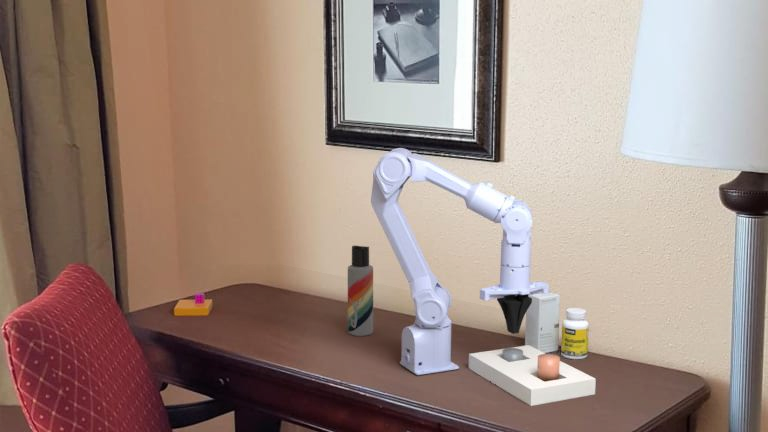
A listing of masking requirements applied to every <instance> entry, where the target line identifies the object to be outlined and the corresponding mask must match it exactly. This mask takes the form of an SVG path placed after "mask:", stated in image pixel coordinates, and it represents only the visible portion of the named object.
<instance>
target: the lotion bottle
mask: <svg viewBox="0 0 768 432" xmlns="http://www.w3.org/2000/svg"><path fill="white" fill-rule="evenodd" d="M373 332H374V267H373V265H371V264H370V246H364V245H363V246H362V245H352V246H351V264H350V265H348V266H347V333H348V334H349V335H352V336H355V337H357V336H358V337H364V336H369V335H372V334H373Z"/></svg>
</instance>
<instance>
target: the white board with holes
mask: <svg viewBox="0 0 768 432" xmlns="http://www.w3.org/2000/svg"><path fill="white" fill-rule="evenodd" d="M507 348H508V347H507ZM507 348H501V349H500V348H499V349H493V350H487V351H486V350H485V351H479V352H474V353H473V352H472V353H468V369H469V370H471V371H472V372H474V373H476V374H477V375H479V376H480V377H482V378H484V379H485V380H487V381H489V382H490V381H491V382H490V383H492V384H494V385H495V384H496V385H495V386H497V387H499V388H500V389H502V390H504V391H506V392H507V393H508V394H511V395H512V396H514V397H515V398H517V399H518V400H520V401H522V402H523V403H526V404H527V405H529V406H530V407H533V406H538V405H544V404H549V403H554V402H560V401H565V400H570V399H571V400H572V399H577V398H581V397H582V398H583V397H588V396H593V395H596V383H597V382H596V378H595V377H593V376H591V375H590V374H587V373H586V372H583V371H582V370H580V369H577V368H575V367H573V366H571V365H570V364H567V363H566V362H563V361H561V360H560V366H559V379H558V380H552V381H546V382H545V381H542V380H540V379H539V378H537V364H538V356H539V355H541V354H546V353H543V352H541V351H539V350H537V349H535V348H533V347H531V346H529V345H526V346H525V345H521V346H515V347H513V346H511V348H517V349H520V350H522V351H523V360H519V361H513V362H508V361H506V360H504V359H502V356H503V350H504V349H507Z"/></svg>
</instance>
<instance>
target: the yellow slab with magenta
mask: <svg viewBox="0 0 768 432" xmlns="http://www.w3.org/2000/svg"><path fill="white" fill-rule="evenodd" d="M205 298H206V297H205V292H202V293H199V292H197V293H195V294H194V299H179V300H178V302H177V303H176V305H175V307H173V315H174V316H175V317H176V316H181V317H182V316H209V315H210V312H211V311H212V308H213V299H205Z"/></svg>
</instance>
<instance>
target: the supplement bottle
mask: <svg viewBox="0 0 768 432" xmlns="http://www.w3.org/2000/svg"><path fill="white" fill-rule="evenodd" d="M565 317H566V318H565V319H563V320H562V323H561V324H562V326H561V340H560V342H561V343H560V344H561V348H560V355H561V356H562V357H563V358H565V359H570V360H584V359H585V358H587V357H588V353H589V351H588V349H589V348H588V347H589V333H590V332H589V331H590V330H589V328H590V325H589V324H590V323H589V322H588V321H587V320H586V318H587V310H586V309H584V308H580V307H569V308H567V309H566V312H565Z"/></svg>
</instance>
